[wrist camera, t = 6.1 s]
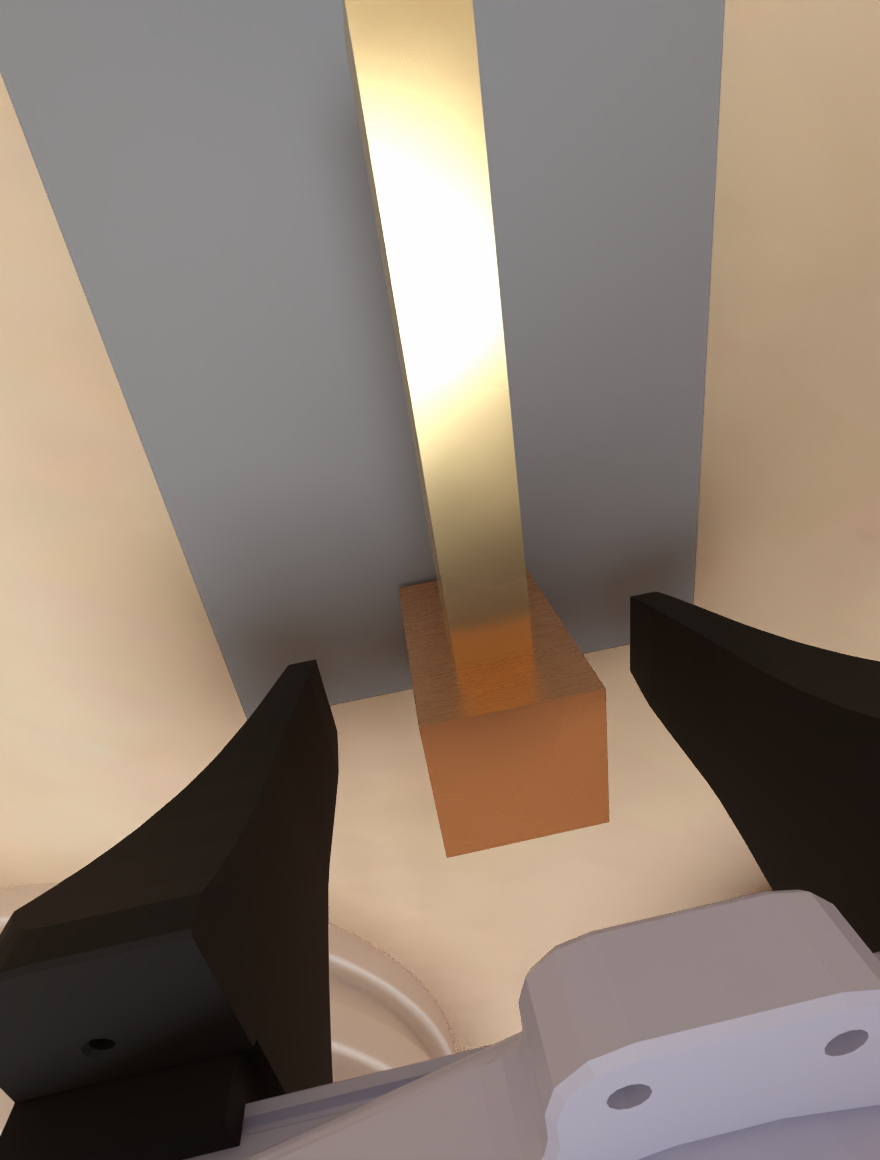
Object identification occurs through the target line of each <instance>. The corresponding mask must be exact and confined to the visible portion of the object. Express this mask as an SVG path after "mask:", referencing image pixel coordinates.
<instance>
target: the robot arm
mask: <svg viewBox="0 0 880 1160" xmlns="http://www.w3.org/2000/svg"><path fill="white" fill-rule="evenodd" d="M630 671H631V673H632V675H633V677H634V679H635V680H636V682H637V684H638V686H639V688H640V690H641V692H642V693H643V695H644V697H645V699H646V700H647V702H648V704H649V706H650V707H651V708H652V710H653V711H654V712H655V714H656V715H657V717H658V718H659V719H660V721H661V722H662V723H663V725H664V726H665V727H666V729H667V730H668V731H669V733H670V734H671V735H672V737H673V738H674V739H675V740H676V742H677V743H678V744H679V746H680V747H681V748H682V750H683V751H684V752H685V754H686V755H687V756H688V757H689V759H690V760H691V761H692V763H693V764H694V765H695V767H696V768H697V769H698V771H699V772H700V773H701V775H702V776H703V777H704V778H705V780H706V781H707V782H708V784H709V785H710V787H711V788H712V790H713V791H714V792H715V794H716V795H717V797H718V798H719V800H720V801H721V803H722V805H723V806H724V808H725V810H726V811H727V813H728V814H729V816H730V818H731V819H732V821H733V823H734V824H735V826H736V828H737V829H738V831H739V833H740V834H741V836H742V838H743V839H744V841H745V843H746V844H747V846H748V848H749V850H750V851H751V853H752V855H753V857H754V858H755V860H756V862H757V864H758V865H759V867H760V869H761V871H762V872H763V874H764V876H765V878H766V879H767V881H768V883H769V885H770V886H771V888H772V890H773V891H764V892H760V893H756V894H751V895H747V896H743V897H738V898H734V899H730V900H725V901H721V902H717V903H712V904H708V905H704V906H700V907H695V908H691V909H687V910H682V911H678V912H674V913H669V914H665V915H661V916H656V917H652V918H648V919H643V920H639V921H635V922H630V923H626V924H622V925H617V926H613V927H609V928H604V929H600V930H596V931H592V932H589V933H586V934H584V935H581V936H579V937H577V938H574V939H572V940H569V941H567V942H564V943H562V944H559V945H557V946H555V947H554V948H553V949H552V950H550V951H549V952H548V953H547V954H546V955H545V956H544V957H543V958H542V959H541V960H540V961H538V962H537V963H536V964H535V965H534V966H533V967H532V968H531V969H530V970H529V972H528V974H527V975H526V977H525V981H524V984H523V988H522V991H521V995H520V999H519V1009H520V1015H521V1021H522V1032H519V1033H517V1034H515V1035H513V1036H511V1037H508V1038H506V1039H504V1040H502V1041H500V1042H498V1043H495V1044H492V1045H488V1046H484V1047H480V1048H476V1049H472V1050H467V1051H463V1052H459V1053H455V1054H451V1055H447V1056H442V1057H438V1058H434V1059H430V1060H426V1061H422V1062H417V1063H413V1064H409V1065H405V1066H401V1067H397V1068H392V1069H388V1070H384V1071H380V1072H376V1073H372V1074H367V1075H363V1076H359V1077H355V1078H351V1079H347V1080H342V1081H338V1082H334V1083H333V1072H332V1051H331V1022H330V991H329V938H328V882H329V865H330V855H331V845H332V835H333V825H334V815H335V805H336V794H337V784H338V772H339V768H338V738H337V729H336V725H335V722H334V719H333V715H332V712H331V709H330V705H329V702H328V698H327V695H326V692H325V688H324V685H323V682H322V678H321V675H320V671H319V668H318V665H317V661H316V659H315V660H310V661H305V662H300V663H295V664H290V665H288V666H287V668H286V669H285V670H284V672H283V673H282V674H281V676H280V677H279V678H278V680H277V681H276V682H275V684H274V685H273V687H272V688H271V689H270V691H269V692H268V693H267V695H266V696H265V698H264V699H263V700H262V702H261V703H260V704H259V706H258V707H257V708H256V710H255V711H254V712H253V714H252V715H251V716H250V717H249V719H248V720H247V721H246V723H245V724H244V725H243V726H242V727H241V729H240V730H239V731H238V732H237V733H236V734H235V736H234V737H233V738H232V739H231V740H230V741H229V743H228V744H227V745H226V746H225V747H224V749H223V750H222V751H221V752H220V753H219V754H218V755H217V756H216V758H215V759H214V760H213V761H212V762H211V763H210V764H209V765H208V766H207V767H206V768H205V769H204V770H203V771H202V772H201V773H200V774H199V775H198V776H197V777H196V778H195V779H194V780H193V781H192V782H191V783H190V784H189V785H188V786H187V787H186V788H184V789H183V790H182V791H181V792H180V793H179V794H178V795H177V796H176V797H174V798H173V799H172V800H171V801H170V802H168V803H167V804H166V805H165V806H164V807H163V808H161V809H160V810H159V811H158V812H157V813H156V814H154V815H153V816H152V817H151V818H150V819H148V820H147V821H146V822H145V823H144V824H143V825H141V826H140V827H139V828H137V829H136V830H135V831H134V832H132V833H131V834H130V835H128V836H127V837H126V838H124V839H123V840H122V841H120V842H119V843H118V844H116V845H115V846H114V847H112V848H111V849H109V850H108V851H107V852H105V853H104V854H102V855H101V856H100V857H98V858H97V859H95V860H94V861H93V862H91V863H90V864H88V865H87V866H85V867H84V868H82V869H81V870H79V871H78V872H76V873H75V874H73V875H72V876H70V877H68V878H67V879H65V880H64V881H62V882H60V883H59V884H57V885H56V886H54V887H53V888H51V889H49V890H48V891H46V892H45V893H43V894H41V895H40V896H38V897H37V898H35V899H33V900H32V901H30V902H29V903H27V904H25V905H24V906H22V907H20V908H19V909H17V910H15V911H14V912H13V914H12V915H11V917H10V919H9V920H8V922H7V924H6V925H5V927H4V929H3V930H2V932H1V934H0V1088H1V1089H2V1090H3V1091H4V1092H5V1093H6V1094H7V1095H8V1096H9V1097H10V1098H11V1099H12V1100H13V1101H14V1102H15V1103H14V1106H13V1108H12V1110H11V1112H10V1115H9V1117H8V1119H7V1122H6V1124H5V1126H4V1129H3V1131H2V1133H1V1135H0V1160H880V662H879V661H874V660H868V659H863V658H858V657H854V656H849V655H845V654H841V653H837V652H833V651H829V650H825V649H821V648H817V647H814V646H810V645H806V644H802V643H799V642H796V641H792V640H789V639H786V638H783V637H780V636H777V635H774V634H771V633H768V632H765V631H762V630H759V629H756V628H753V627H750V626H747V625H745V624H742V623H739V622H737V621H734V620H731V619H729V618H726V617H723V616H721V615H718V614H716V613H713V612H711V611H708V610H706V609H703V608H700V607H698V606H695V605H693V604H690V603H688V602H685V601H683V600H680V599H677V598H675V597H672V596H669V595H666V594H663V593H660V592H656V591H655V592H650V593H645V594H640V595H635V596H630Z"/></svg>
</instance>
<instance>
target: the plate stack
mask: <svg viewBox="0 0 880 1160" xmlns="http://www.w3.org/2000/svg"><path fill="white" fill-rule="evenodd" d="M57 884H59V883H53V884H39V885H26V886H17V887H8V888H0V934H1V932H2V930H3V929H4V927H5V925H6V924H7V922H8V920H9V919H10V917H11V915H12V914H13V912H14V911H15V910H17V909H19V908H20V907H22V906H24V905H25V904H27V903H29V902H30V901H32V900H33V899H35V898H37V897H38V896H40V895H41V894H43V893H45V892H46V891H48V890H49V889H51V888H53V887H54V886H56V885H57ZM328 938H329V991H330V1022H331V1051H332V1072H333V1083H334V1082H338V1081H342V1080H347V1079H351V1078H355V1077H359V1076H363V1075H367V1074H372V1073H376V1072H380V1071H384V1070H388V1069H392V1068H397V1067H401V1066H405V1065H409V1064H413V1063H417V1062H422V1061H426V1060H430V1059H434V1058H438V1057H442V1056H447V1055H451V1054H455V1050H454V1044H453V1039H452V1035H451V1032H450V1029H449V1026H448V1023H447V1021H446V1019H445V1017H444V1015H443V1013H442V1011H441V1009H440V1008H439V1006H438V1005H437V1003H436V1001H435V1000H434V999H433V997H432V996H431V995H430V993H429V992H428V991H427V990H426V988H425V987H424V986H423V985H422V984H421V983H420V982H419V981H418V980H417V979H416V978H415V977H414V976H413V975H412V974H411V973H410V972H409V971H408V970H406V969H405V968H404V967H403V966H402V965H400V964H399V963H398V962H396V961H395V960H394V959H393V958H391V957H390V956H388V955H387V954H385V953H384V952H382V951H381V950H379V949H378V948H376V947H374V946H373V945H371V944H369V943H368V942H366V941H364V940H362V939H360V938H359V937H357V936H355V935H353V934H351V933H349V932H347V931H345V930H343V929H340V928H338V927H336V926H334V925H331V924H329V923H328ZM14 1103H15V1102H14V1101H13V1100H12V1099H11V1098H10V1097H9V1096H8V1095H7V1094H6V1093H5V1092H4V1091H3V1090H2V1089H1V1088H0V1135H1V1133H2V1131H3V1129H4V1126H5V1124H6V1122H7V1119H8V1117H9V1115H10V1112H11V1110H12V1108H13V1106H14Z"/></svg>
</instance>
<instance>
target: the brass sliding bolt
mask: <svg viewBox="0 0 880 1160" xmlns="http://www.w3.org/2000/svg"><path fill="white" fill-rule="evenodd" d="M343 19H344V39H345V46H346V52H347V58H348V64H349V70H350V75H351V81H352V87H353V93H354V99H355V105H356V111H357V116H358V122H359V128H360V134H361V140H362V146H363V152H364V157H365V163H366V169H367V175H368V181H369V187H370V192H371V198H372V204H373V210H374V216H375V222H376V228H377V233H378V239H379V245H380V251H381V257H382V263H383V268H384V274H385V280H386V286H387V292H388V298H389V304H390V309H391V315H392V321H393V327H394V333H395V339H396V344H397V350H398V356H399V362H400V368H401V374H402V380H403V385H404V391H405V397H406V403H407V409H408V415H409V420H410V426H411V432H412V438H413V444H414V450H415V456H416V461H417V467H418V473H419V479H420V485H421V491H422V497H423V502H424V508H425V514H426V520H427V526H428V532H429V537H430V543H431V549H432V555H433V561H434V567H435V573H436V578H437V581H432V582H427V583H422V584H417V585H412V586H407V587H402V588H398V589H399V596H400V603H401V609H402V616H403V623H404V630H405V636H406V643H407V650H408V657H409V663H410V670H411V677H412V683H413V690H414V697H415V704H416V710H417V717H418V724H419V730H420V734H421V739H422V744H423V748H424V753H425V758H426V762H427V767H428V772H429V776H430V781H431V786H432V790H433V795H434V800H435V805H436V809H437V814H438V819H439V823H440V828H441V833H442V837H443V842H444V847H445V851H446V856H447V858H448V857H453V856H457V855H462V854H466V853H471V852H476V851H480V850H485V849H489V848H494V847H498V846H503V845H507V844H512V843H516V842H521V841H525V840H530V839H534V838H539V837H543V836H548V835H552V834H557V833H561V832H566V831H570V830H575V829H579V828H584V827H589V826H593V825H598V824H602V823H607V822H609V795H608V759H607V722H606V689H605V687H604V686H603V684H602V683H601V681H600V680H599V678H598V676H597V675H596V673H595V672H594V670H593V669H592V667H591V666H590V664H589V663H588V661H587V660H586V658H585V657H584V655H583V654H582V652H581V651H580V649H579V648H578V646H577V645H576V643H575V642H574V640H573V639H572V637H571V636H570V634H569V633H568V631H567V630H566V628H565V627H564V625H563V624H562V622H561V621H560V619H559V618H558V616H557V615H556V613H555V612H554V610H553V609H552V607H551V606H550V604H549V603H548V601H547V600H546V598H545V597H544V595H543V593H542V592H541V590H540V589H539V587H538V586H537V584H536V583H535V581H534V580H533V578H532V577H531V575H530V574H529V572H528V571H527V569H526V568H525V558H524V547H523V537H522V526H521V515H520V505H519V494H518V483H517V472H516V462H515V451H514V440H513V430H512V419H511V408H510V397H509V387H508V376H507V365H506V355H505V344H504V333H503V322H502V312H501V301H500V290H499V280H498V269H497V258H496V247H495V237H494V226H493V215H492V205H491V194H490V183H489V172H488V162H487V151H486V140H485V130H484V119H483V108H482V97H481V87H480V76H479V65H478V55H477V44H476V33H475V22H474V12H473V1H472V0H343Z"/></svg>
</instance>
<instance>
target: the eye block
mask: <svg viewBox="0 0 880 1160" xmlns="http://www.w3.org/2000/svg"><path fill="white" fill-rule="evenodd" d="M472 1H473V12H474V22H475V33H476V44H477V55H478V65H479V76H480V87H481V97H482V108H483V119H484V130H485V140H486V151H487V162H488V172H489V183H490V194H491V205H492V215H493V226H494V237H495V247H496V258H497V269H498V280H499V290H500V301H501V312H502V322H503V333H504V344H505V355H506V365H507V376H508V387H509V397H510V408H511V419H512V430H513V440H514V451H515V462H516V472H517V483H518V494H519V505H520V515H521V526H522V537H523V547H524V558H525V568H526V569H527V571H528V572H529V574H530V575H531V577H532V578H533V580H534V581H535V583H536V584H537V586H538V587H539V589H540V590H541V592H542V593H543V595H544V597H545V598H546V600H547V601H548V603H549V604H550V606H551V607H552V609H553V610H554V612H555V613H556V615H557V616H558V618H559V619H560V621H561V622H562V624H563V625H564V627H565V628H566V630H567V631H568V633H569V634H570V636H571V637H572V639H573V640H574V642H575V643H576V645H577V646H578V648H579V649H580V651H581V652H582V654H584V653H589V652H594V651H599V650H604V649H608V648H613V647H618V646H623V645H628V644H630V596H635V595H640V594H645V593H650V592H655V591H656V592H660V593H663V594H666V595H669V596H672V597H675V598H677V599H680V600H683V601H685V602H688V603H690V604H693V603H694V584H695V565H696V546H697V527H698V508H699V488H700V469H701V450H702V431H703V412H704V393H705V373H706V354H707V335H708V316H709V297H710V278H711V258H712V239H713V220H714V201H715V182H716V163H717V144H718V124H719V105H720V86H721V67H722V48H723V29H724V9H725V0H472ZM0 73H1V75H2V78H3V80H4V83H5V86H6V88H7V91H8V94H9V96H10V99H11V101H12V104H13V107H14V109H15V112H16V115H17V117H18V120H19V122H20V125H21V128H22V130H23V133H24V136H25V138H26V141H27V143H28V146H29V149H30V151H31V154H32V157H33V159H34V162H35V164H36V167H37V170H38V172H39V175H40V178H41V180H42V183H43V185H44V188H45V191H46V193H47V196H48V199H49V201H50V204H51V206H52V209H53V212H54V214H55V217H56V219H57V222H58V225H59V227H60V230H61V233H62V235H63V238H64V240H65V243H66V246H67V248H68V251H69V254H70V256H71V259H72V261H73V264H74V267H75V269H76V272H77V275H78V277H79V280H80V282H81V285H82V288H83V290H84V293H85V296H86V298H87V301H88V303H89V306H90V309H91V311H92V314H93V317H94V319H95V322H96V324H97V327H98V330H99V332H100V335H101V338H102V340H103V343H104V345H105V348H106V351H107V353H108V356H109V359H110V361H111V364H112V366H113V369H114V372H115V374H116V377H117V380H118V382H119V385H120V387H121V390H122V393H123V395H124V398H125V401H126V403H127V406H128V408H129V411H130V414H131V416H132V419H133V421H134V424H135V427H136V429H137V432H138V435H139V437H140V440H141V442H142V445H143V448H144V450H145V453H146V456H147V458H148V461H149V463H150V466H151V469H152V471H153V474H154V477H155V479H156V482H157V484H158V487H159V490H160V492H161V495H162V498H163V500H164V503H165V505H166V508H167V511H168V513H169V516H170V519H171V521H172V524H173V526H174V529H175V532H176V534H177V537H178V540H179V542H180V545H181V547H182V550H183V553H184V555H185V558H186V561H187V563H188V566H189V568H190V571H191V574H192V576H193V579H194V582H195V584H196V587H197V589H198V592H199V595H200V597H201V600H202V603H203V605H204V608H205V610H206V613H207V616H208V618H209V621H210V623H211V626H212V629H213V631H214V634H215V637H216V639H217V642H218V644H219V647H220V650H221V652H222V655H223V658H224V660H225V663H226V665H227V668H228V671H229V673H230V676H231V679H232V681H233V684H234V686H235V689H236V692H237V694H238V697H239V700H240V702H241V705H242V707H243V710H244V713H245V715H246V718H247V720H248V719H249V717H250V716H251V715H252V714H253V712H254V711H255V710H256V708H257V707H258V706H259V704H260V703H261V702H262V700H263V699H264V698H265V696H266V695H267V693H268V692H269V691H270V689H271V688H272V687H273V685H274V684H275V682H276V681H277V680H278V678H279V677H280V676H281V674H282V673H283V672H284V670H285V669H286V668H287V666H288V665H290V664H295V663H300V662H305V661H310V660H315V659H316V661H317V665H318V668H319V671H320V675H321V678H322V682H323V685H324V688H325V692H326V695H327V698H328V702H329V705H335V704H339V703H344V702H349V701H354V700H359V699H364V698H369V697H374V696H379V695H383V694H388V693H393V692H398V691H403V690H408V689H413V683H412V677H411V670H410V663H409V657H408V650H407V643H406V636H405V630H404V623H403V616H402V609H401V603H400V596H399V589H398V588H402V587H407V586H412V585H417V584H422V583H427V582H432V581H437V578H436V573H435V567H434V561H433V555H432V549H431V543H430V537H429V532H428V526H427V520H426V514H425V508H424V502H423V497H422V491H421V485H420V479H419V473H418V467H417V461H416V456H415V450H414V444H413V438H412V432H411V426H410V420H409V415H408V409H407V403H406V397H405V391H404V385H403V380H402V374H401V368H400V362H399V356H398V350H397V344H396V339H395V333H394V327H393V321H392V315H391V309H390V304H389V298H388V292H387V286H386V280H385V274H384V268H383V263H382V257H381V251H380V245H379V239H378V233H377V228H376V222H375V216H374V210H373V204H372V198H371V192H370V187H369V181H368V175H367V169H366V163H365V157H364V152H363V146H362V140H361V134H360V128H359V122H358V116H357V111H356V105H355V99H354V93H353V87H352V81H351V75H350V70H349V64H348V58H347V52H346V46H345V39H344V19H343V0H0Z"/></svg>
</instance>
